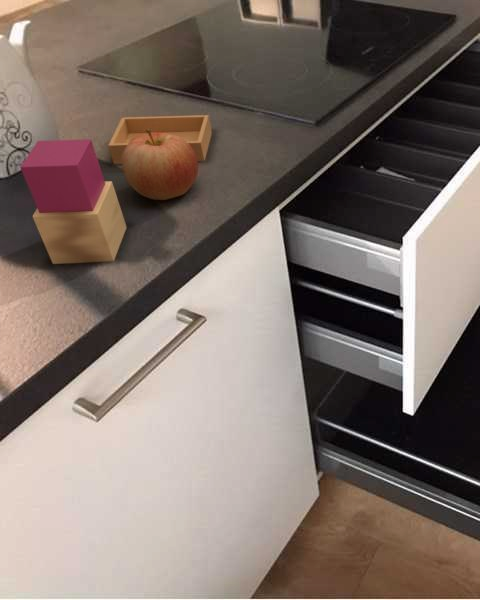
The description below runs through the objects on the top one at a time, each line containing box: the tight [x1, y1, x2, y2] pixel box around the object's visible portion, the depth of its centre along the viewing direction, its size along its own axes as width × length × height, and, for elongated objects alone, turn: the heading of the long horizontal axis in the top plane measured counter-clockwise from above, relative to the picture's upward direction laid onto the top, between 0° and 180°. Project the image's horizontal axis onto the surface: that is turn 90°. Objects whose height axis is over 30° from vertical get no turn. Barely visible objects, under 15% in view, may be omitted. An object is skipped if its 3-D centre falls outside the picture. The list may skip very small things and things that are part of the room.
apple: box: [121, 129, 199, 201], centre depth 74 cm, size 8×8×8 cm
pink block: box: [20, 138, 105, 213], centre depth 63 cm, size 5×5×5 cm
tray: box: [107, 114, 213, 165], centre depth 83 cm, size 11×8×3 cm
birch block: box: [32, 180, 127, 265], centre depth 67 cm, size 6×6×6 cm
